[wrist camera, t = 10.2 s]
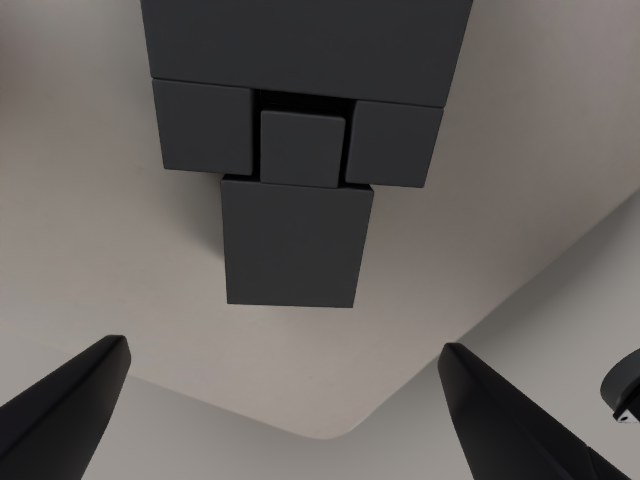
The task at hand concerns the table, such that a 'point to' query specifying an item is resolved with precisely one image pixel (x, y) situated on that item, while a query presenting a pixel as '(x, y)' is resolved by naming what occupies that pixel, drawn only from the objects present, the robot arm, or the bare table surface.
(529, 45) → the table surface
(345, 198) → the dark gray tabbed block
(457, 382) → the robot arm
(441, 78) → the dark gray pronged block
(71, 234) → the table surface
